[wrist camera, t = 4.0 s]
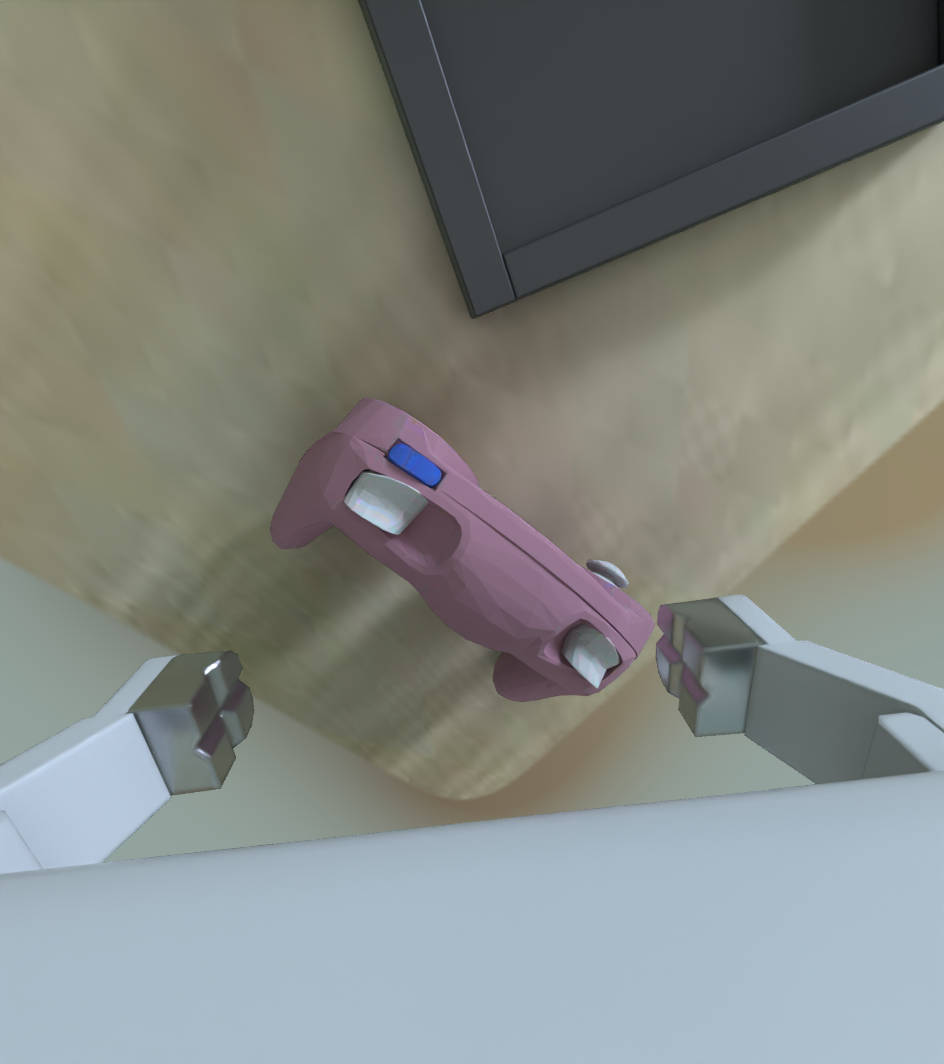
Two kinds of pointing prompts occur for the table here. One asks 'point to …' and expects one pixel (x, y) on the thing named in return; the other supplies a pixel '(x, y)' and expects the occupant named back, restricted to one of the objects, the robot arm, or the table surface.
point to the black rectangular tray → (636, 116)
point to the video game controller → (464, 554)
